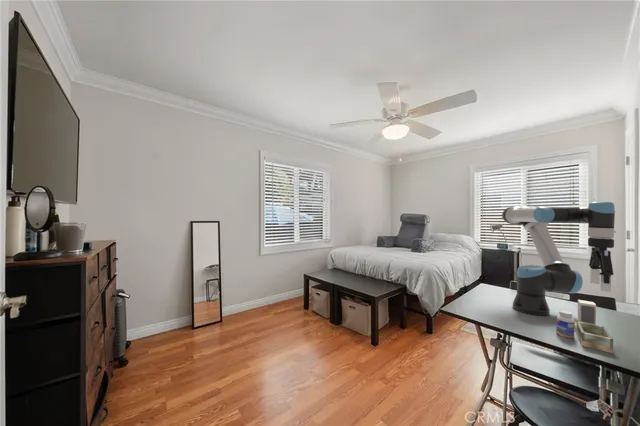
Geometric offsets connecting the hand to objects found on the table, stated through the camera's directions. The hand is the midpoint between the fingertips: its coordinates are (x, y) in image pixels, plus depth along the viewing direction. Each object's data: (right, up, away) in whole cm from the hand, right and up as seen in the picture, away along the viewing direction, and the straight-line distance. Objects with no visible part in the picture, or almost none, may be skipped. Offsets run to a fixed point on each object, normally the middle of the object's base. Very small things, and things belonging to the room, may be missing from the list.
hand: (599, 287), depth 109 cm
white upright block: (-2, -18, +3) cm, 18 cm away
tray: (-8, -20, -4) cm, 22 cm away
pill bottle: (-17, -20, -2) cm, 26 cm away
